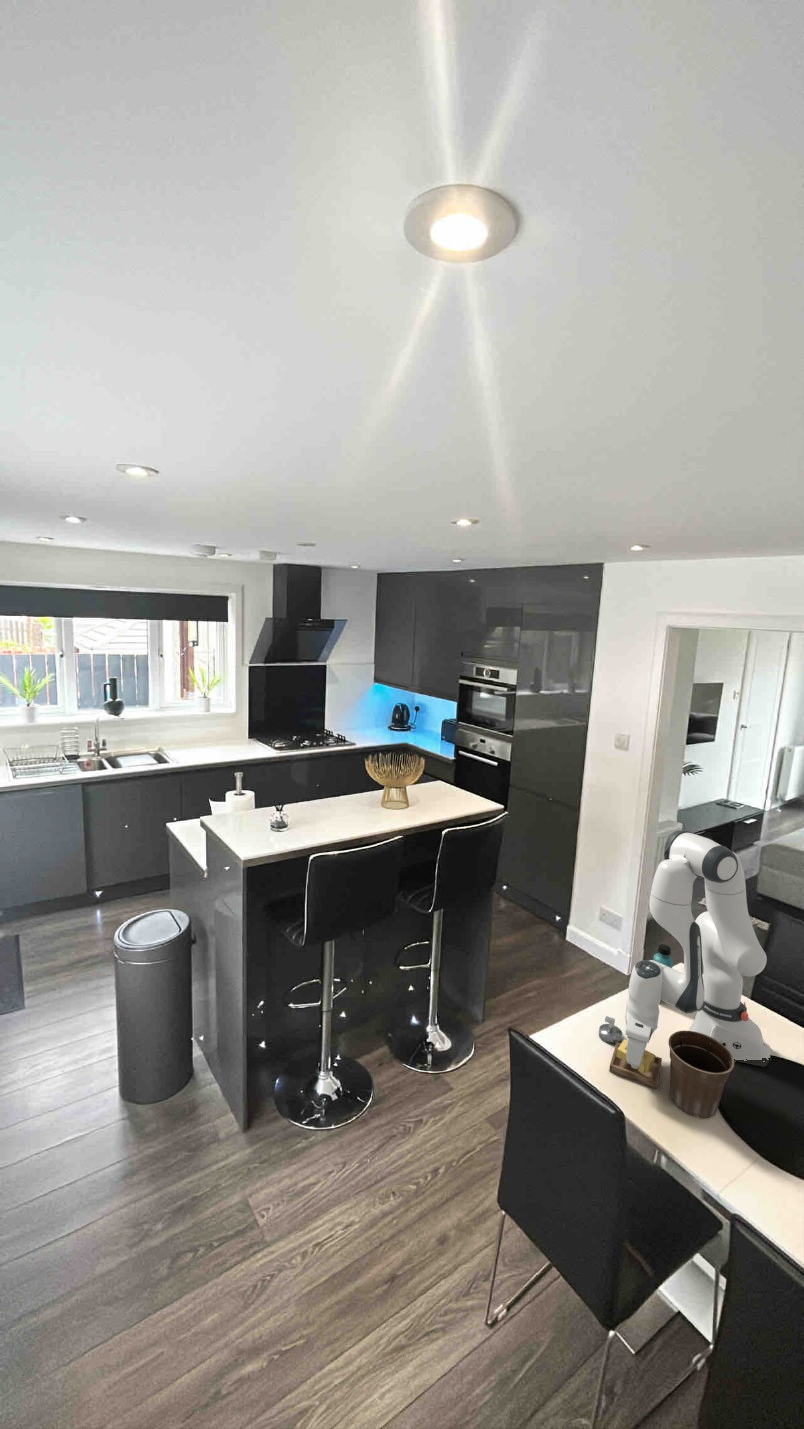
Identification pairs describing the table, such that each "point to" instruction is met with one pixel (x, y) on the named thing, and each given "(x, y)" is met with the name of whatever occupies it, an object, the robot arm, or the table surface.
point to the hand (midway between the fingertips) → (636, 1058)
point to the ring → (646, 1061)
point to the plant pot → (697, 1072)
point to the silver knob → (610, 1032)
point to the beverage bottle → (664, 956)
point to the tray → (635, 1070)
